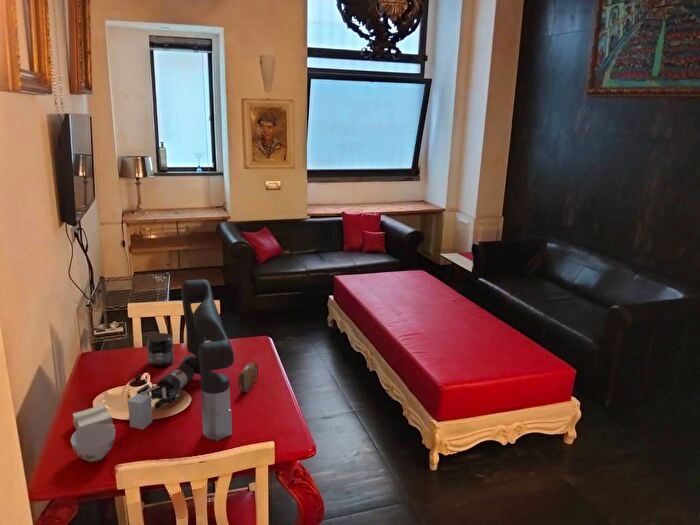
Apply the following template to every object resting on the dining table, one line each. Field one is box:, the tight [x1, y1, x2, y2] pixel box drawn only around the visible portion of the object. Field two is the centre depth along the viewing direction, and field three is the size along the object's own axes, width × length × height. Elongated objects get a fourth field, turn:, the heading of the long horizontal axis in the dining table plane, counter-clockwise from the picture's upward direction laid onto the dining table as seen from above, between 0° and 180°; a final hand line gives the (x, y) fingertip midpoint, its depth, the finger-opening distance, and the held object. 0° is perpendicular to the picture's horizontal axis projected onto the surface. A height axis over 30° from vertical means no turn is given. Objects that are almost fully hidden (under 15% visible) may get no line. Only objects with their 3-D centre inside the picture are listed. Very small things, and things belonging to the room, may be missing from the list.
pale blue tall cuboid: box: [127, 393, 153, 430], centre depth 185 cm, size 5×5×10 cm
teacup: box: [70, 424, 116, 463], centre depth 168 cm, size 15×12×8 cm
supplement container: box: [146, 332, 175, 369], centre depth 229 cm, size 10×10×12 cm
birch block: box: [72, 404, 114, 431], centre depth 183 cm, size 10×10×5 cm
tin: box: [237, 362, 259, 393], centre depth 213 cm, size 15×3×8 cm, turn 168°
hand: (145, 404), depth 187 cm, fingers open, 8 cm apart
